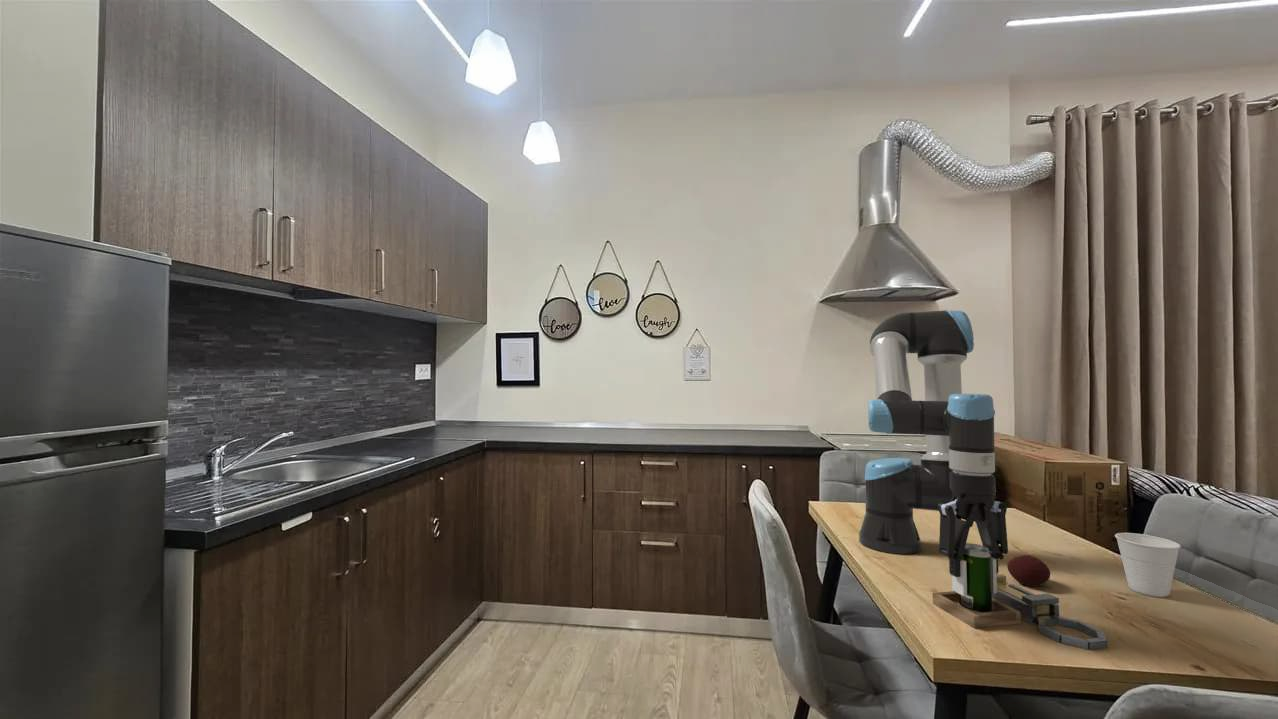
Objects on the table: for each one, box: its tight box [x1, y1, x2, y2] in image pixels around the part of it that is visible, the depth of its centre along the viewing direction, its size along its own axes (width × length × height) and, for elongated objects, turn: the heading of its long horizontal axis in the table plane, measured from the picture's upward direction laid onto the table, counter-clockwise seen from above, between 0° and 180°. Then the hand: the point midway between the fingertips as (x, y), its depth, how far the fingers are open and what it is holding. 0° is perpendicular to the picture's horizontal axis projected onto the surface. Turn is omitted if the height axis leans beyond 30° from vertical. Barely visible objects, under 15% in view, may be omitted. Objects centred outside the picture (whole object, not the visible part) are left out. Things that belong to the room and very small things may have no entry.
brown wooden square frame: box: [932, 590, 1022, 629], centre depth 96 cm, size 10×10×2 cm
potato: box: [1006, 554, 1051, 587], centre depth 110 cm, size 8×9×6 cm
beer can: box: [959, 542, 992, 614], centre depth 96 cm, size 5×5×12 cm
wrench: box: [992, 583, 1108, 651], centre depth 93 cm, size 18×9×4 cm, turn 10°
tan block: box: [997, 573, 1050, 621], centre depth 98 cm, size 11×5×4 cm, turn 10°
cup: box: [1114, 532, 1182, 598], centre depth 106 cm, size 10×10×11 cm
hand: (974, 591), depth 96 cm, fingers open, 6 cm apart
